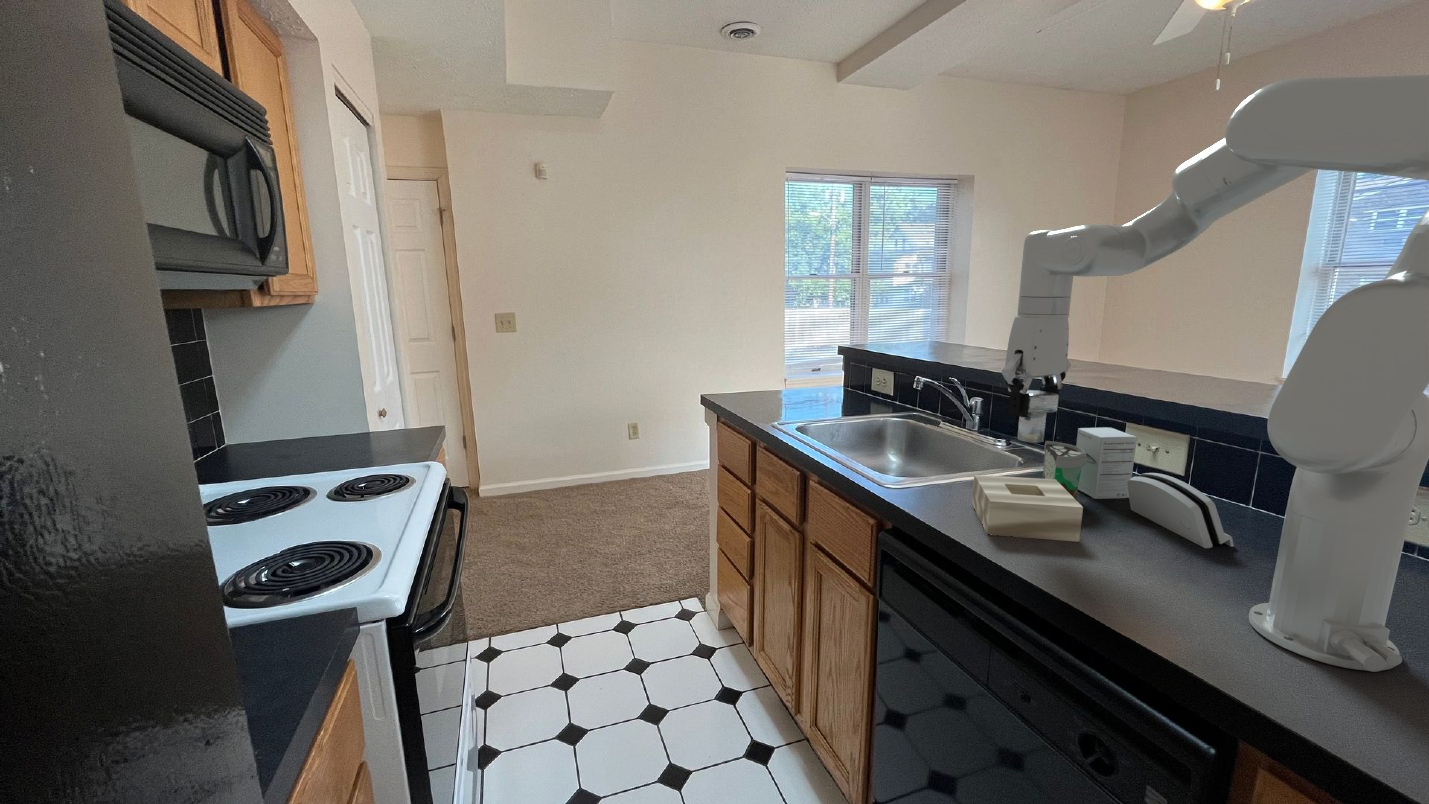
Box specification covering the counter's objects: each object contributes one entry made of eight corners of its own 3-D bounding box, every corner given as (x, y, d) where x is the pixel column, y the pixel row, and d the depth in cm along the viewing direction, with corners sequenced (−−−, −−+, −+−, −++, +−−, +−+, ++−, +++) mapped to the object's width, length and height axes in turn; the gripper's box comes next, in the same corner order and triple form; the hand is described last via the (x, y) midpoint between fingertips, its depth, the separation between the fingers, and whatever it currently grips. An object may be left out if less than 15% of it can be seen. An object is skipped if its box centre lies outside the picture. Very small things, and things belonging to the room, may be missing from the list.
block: (1079, 541, 98) (1083, 507, 97) (987, 534, 101) (990, 501, 100) (1052, 510, 112) (1055, 479, 110) (972, 504, 115) (974, 474, 114)
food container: (1089, 511, 111) (1095, 459, 109) (1052, 508, 113) (1057, 457, 111) (1074, 489, 122) (1079, 442, 120) (1040, 486, 124) (1045, 440, 122)
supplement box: (1069, 486, 124) (1076, 427, 121) (1104, 485, 124) (1112, 426, 122) (1093, 499, 117) (1100, 436, 114) (1130, 498, 117) (1138, 435, 114)
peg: (1059, 445, 99) (1064, 398, 98) (1013, 443, 101) (1017, 397, 99) (1046, 435, 106) (1051, 390, 104) (1003, 433, 107) (1007, 389, 106)
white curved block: (1236, 547, 95) (1224, 492, 93) (1207, 557, 96) (1195, 502, 94) (1156, 508, 112) (1145, 460, 110) (1131, 517, 112) (1120, 469, 110)
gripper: (1055, 305, 106) (1045, 403, 109) (987, 308, 98) (978, 414, 102) (1098, 307, 99) (1086, 411, 103) (1029, 310, 92) (1018, 423, 95)
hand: (1032, 412), depth 102 cm, fingers closed on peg, 7 cm apart
